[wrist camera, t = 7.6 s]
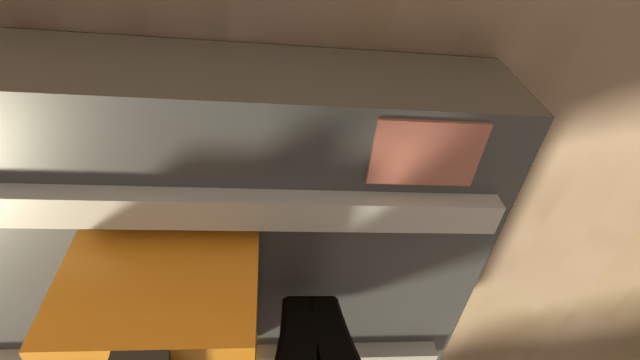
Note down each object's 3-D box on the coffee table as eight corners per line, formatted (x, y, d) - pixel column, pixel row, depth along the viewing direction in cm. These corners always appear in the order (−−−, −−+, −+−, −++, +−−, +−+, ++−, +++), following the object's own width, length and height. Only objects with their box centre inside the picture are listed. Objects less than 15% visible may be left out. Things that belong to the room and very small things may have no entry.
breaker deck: (498, 58, 12) (566, 129, 9) (407, 315, 18) (430, 401, 16) (-152, 17, 10) (-314, 91, 7) (9, 320, 17) (-43, 418, 14)
